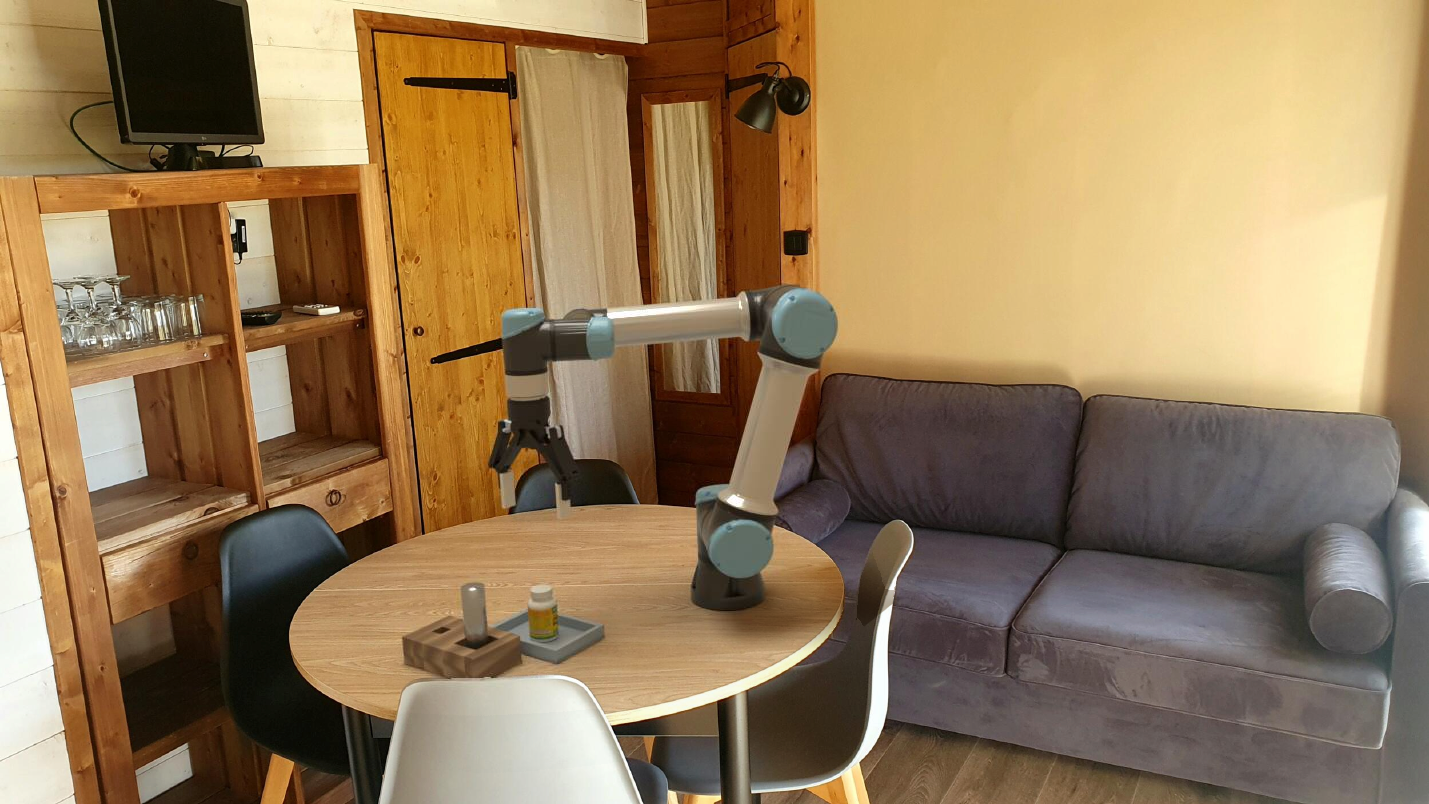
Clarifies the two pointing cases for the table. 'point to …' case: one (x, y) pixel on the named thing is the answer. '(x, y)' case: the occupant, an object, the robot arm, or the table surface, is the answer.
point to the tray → (569, 641)
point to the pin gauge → (474, 615)
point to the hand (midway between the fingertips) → (536, 512)
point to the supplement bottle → (542, 614)
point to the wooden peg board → (460, 650)
